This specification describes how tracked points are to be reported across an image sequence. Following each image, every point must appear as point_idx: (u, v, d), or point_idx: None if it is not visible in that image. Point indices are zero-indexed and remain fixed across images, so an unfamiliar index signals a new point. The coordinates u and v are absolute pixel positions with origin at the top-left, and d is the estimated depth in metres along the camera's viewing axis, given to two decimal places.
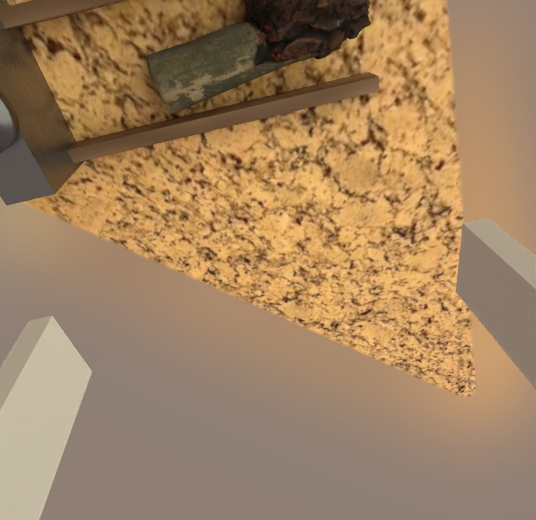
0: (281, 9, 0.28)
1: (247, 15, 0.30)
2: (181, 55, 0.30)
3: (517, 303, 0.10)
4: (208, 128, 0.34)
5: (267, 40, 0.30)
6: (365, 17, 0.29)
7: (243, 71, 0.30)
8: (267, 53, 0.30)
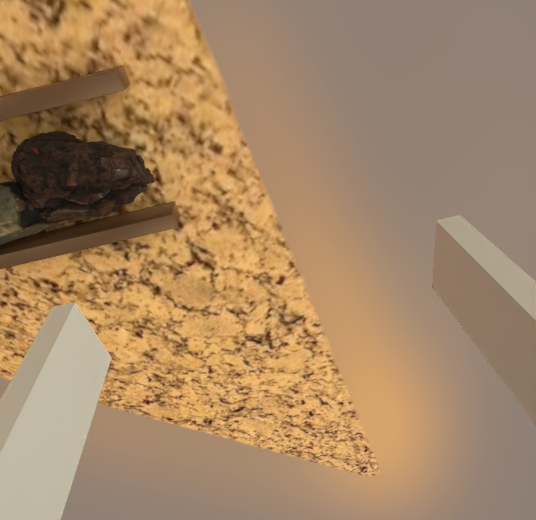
0: (30, 185, 0.26)
1: (14, 175, 0.28)
2: None
3: (483, 296, 0.10)
4: None
5: (32, 204, 0.28)
6: (136, 185, 0.28)
7: (11, 232, 0.28)
8: (37, 215, 0.28)
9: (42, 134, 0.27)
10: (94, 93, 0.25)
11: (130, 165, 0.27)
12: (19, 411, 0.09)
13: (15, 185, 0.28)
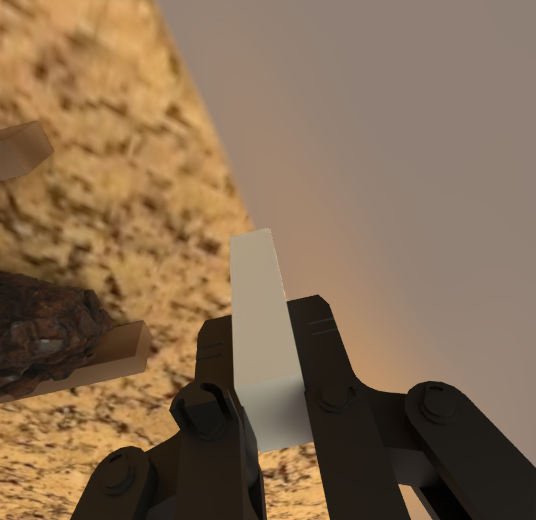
0: None
1: None
2: None
3: None
4: None
5: None
6: (78, 355, 0.16)
7: None
8: None
9: None
10: None
11: (69, 327, 0.16)
12: (255, 305, 0.10)
13: None
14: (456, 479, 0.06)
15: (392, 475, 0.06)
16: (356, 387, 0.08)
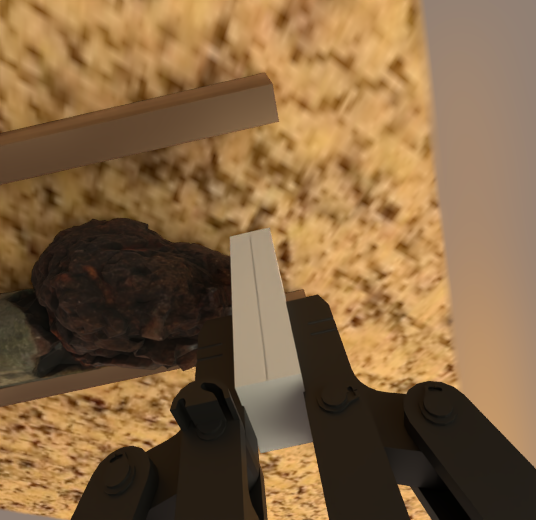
0: (70, 330, 0.14)
1: (33, 286, 0.16)
2: None
3: None
4: (12, 400, 0.19)
5: (62, 343, 0.16)
6: None
7: (16, 382, 0.16)
8: (67, 356, 0.16)
9: (95, 223, 0.15)
10: (224, 126, 0.13)
11: None
12: (255, 305, 0.10)
13: (34, 305, 0.16)
14: (455, 479, 0.06)
15: (391, 475, 0.06)
16: (355, 387, 0.08)
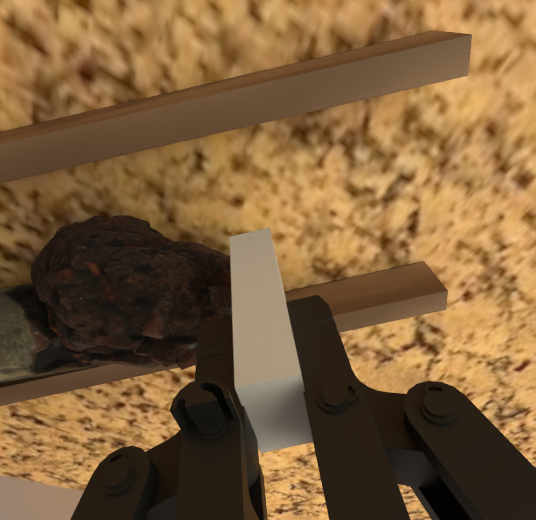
0: (70, 326, 0.14)
1: None
2: None
3: None
4: (138, 372, 0.19)
5: None
6: None
7: (13, 378, 0.16)
8: (65, 353, 0.16)
9: (97, 220, 0.15)
10: (414, 80, 0.13)
11: None
12: (255, 305, 0.10)
13: (33, 300, 0.16)
14: (455, 479, 0.06)
15: (391, 475, 0.06)
16: (355, 387, 0.08)
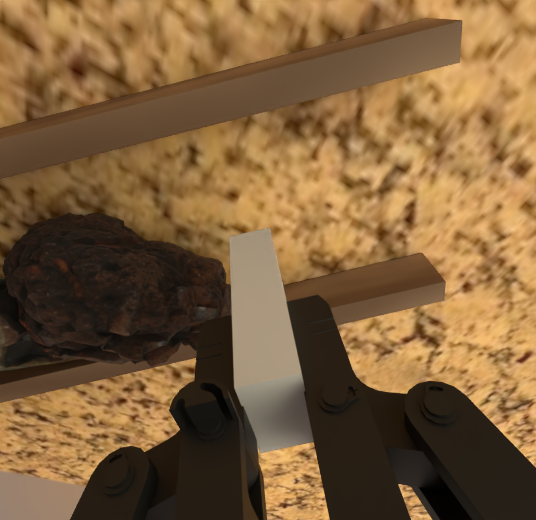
0: (38, 321, 0.14)
1: (5, 276, 0.16)
2: None
3: None
4: (138, 367, 0.19)
5: (31, 334, 0.16)
6: None
7: None
8: (35, 347, 0.16)
9: (71, 217, 0.16)
10: (405, 68, 0.13)
11: (219, 296, 0.16)
12: (255, 305, 0.10)
13: (5, 295, 0.16)
14: (456, 479, 0.06)
15: (392, 475, 0.06)
16: (356, 387, 0.08)
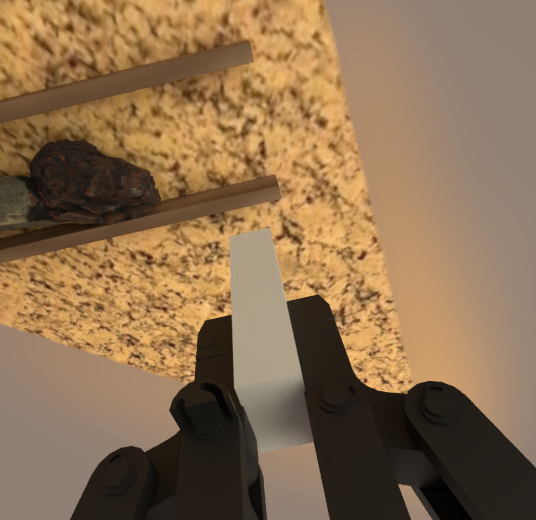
0: (49, 187, 0.28)
1: (30, 171, 0.30)
2: None
3: None
4: (105, 236, 0.33)
5: (43, 202, 0.29)
6: (146, 204, 0.30)
7: (16, 223, 0.30)
8: (45, 212, 0.30)
9: (67, 141, 0.29)
10: (227, 64, 0.26)
11: (145, 186, 0.30)
12: (255, 305, 0.10)
13: (30, 181, 0.29)
14: (456, 479, 0.06)
15: (392, 475, 0.06)
16: (356, 387, 0.08)
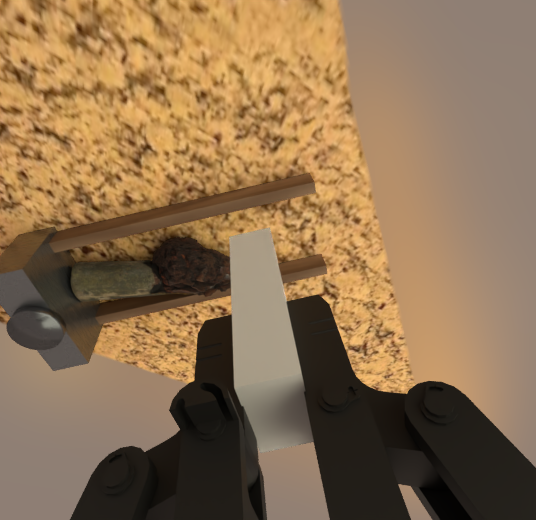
0: (172, 275, 0.40)
1: (153, 259, 0.42)
2: (97, 277, 0.41)
3: None
4: (200, 300, 0.45)
5: (162, 281, 0.42)
6: None
7: (141, 294, 0.42)
8: (161, 287, 0.43)
9: (180, 239, 0.42)
10: (298, 194, 0.39)
11: None
12: (255, 305, 0.10)
13: (153, 266, 0.42)
14: (456, 479, 0.06)
15: (392, 475, 0.06)
16: (356, 387, 0.08)
